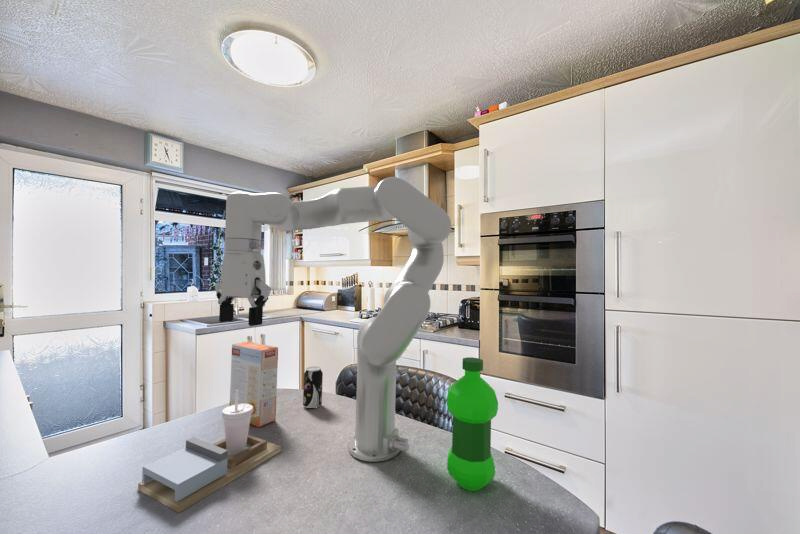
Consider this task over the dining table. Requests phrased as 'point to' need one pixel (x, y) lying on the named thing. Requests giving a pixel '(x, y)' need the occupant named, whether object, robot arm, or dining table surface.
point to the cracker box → (255, 380)
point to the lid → (188, 467)
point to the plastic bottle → (471, 427)
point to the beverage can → (312, 387)
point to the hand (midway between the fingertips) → (240, 323)
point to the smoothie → (236, 426)
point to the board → (236, 467)
